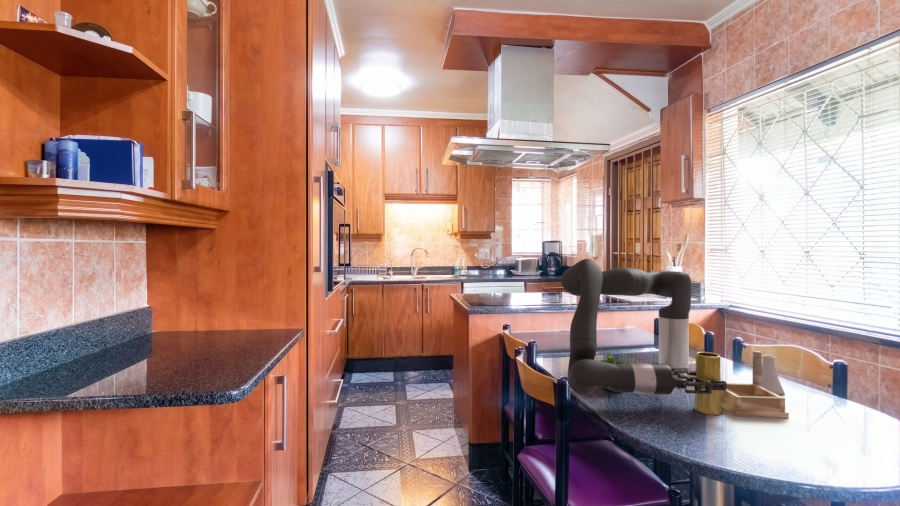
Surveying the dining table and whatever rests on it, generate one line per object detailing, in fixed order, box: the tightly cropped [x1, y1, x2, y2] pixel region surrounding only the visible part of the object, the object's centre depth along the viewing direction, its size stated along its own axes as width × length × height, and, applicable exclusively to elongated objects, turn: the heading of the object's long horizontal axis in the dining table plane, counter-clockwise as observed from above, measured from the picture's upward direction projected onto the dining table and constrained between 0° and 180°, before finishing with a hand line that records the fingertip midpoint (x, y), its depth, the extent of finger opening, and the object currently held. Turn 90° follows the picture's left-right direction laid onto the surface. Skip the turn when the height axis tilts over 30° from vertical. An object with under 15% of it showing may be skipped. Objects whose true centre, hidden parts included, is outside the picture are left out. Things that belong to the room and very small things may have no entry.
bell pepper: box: [600, 355, 626, 392], centre depth 121 cm, size 8×8×10 cm
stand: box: [721, 350, 790, 419], centre depth 106 cm, size 12×13×13 cm
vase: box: [693, 351, 723, 416], centre depth 104 cm, size 6×6×14 cm
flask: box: [762, 354, 786, 396], centre depth 119 cm, size 7×7×10 cm
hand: (716, 380), depth 104 cm, fingers open, 7 cm apart
